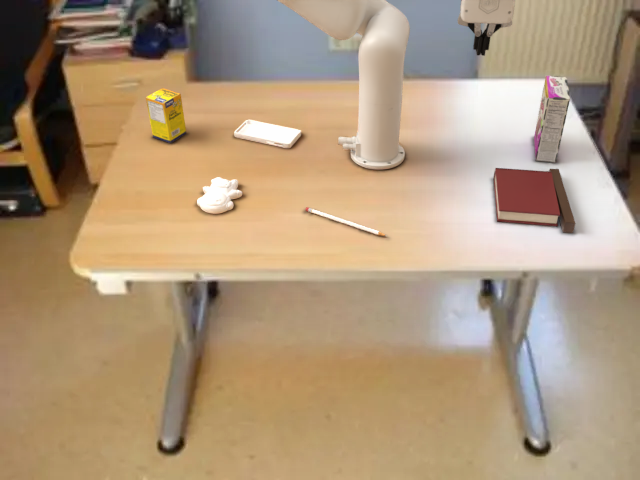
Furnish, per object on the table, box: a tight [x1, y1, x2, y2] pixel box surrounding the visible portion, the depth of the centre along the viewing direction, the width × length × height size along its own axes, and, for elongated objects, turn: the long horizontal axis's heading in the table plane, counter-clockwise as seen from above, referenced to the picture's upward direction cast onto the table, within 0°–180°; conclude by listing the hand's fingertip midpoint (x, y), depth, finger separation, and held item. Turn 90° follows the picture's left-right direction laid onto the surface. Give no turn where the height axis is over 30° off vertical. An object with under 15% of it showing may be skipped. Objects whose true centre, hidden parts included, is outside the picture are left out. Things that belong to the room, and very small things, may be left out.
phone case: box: [233, 119, 302, 149], centre depth 173 cm, size 7×1×15 cm
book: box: [493, 167, 560, 227], centre depth 149 cm, size 12×16×3 cm
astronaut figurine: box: [196, 176, 243, 215], centre depth 151 cm, size 9×12×3 cm
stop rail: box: [548, 168, 576, 234], centre depth 149 cm, size 2×20×2 cm, turn 174°
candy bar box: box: [533, 75, 571, 164], centre depth 162 cm, size 11×5×16 cm, turn 168°
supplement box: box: [145, 87, 187, 144], centre depth 170 cm, size 6×6×11 cm
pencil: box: [305, 206, 387, 237], centre depth 144 cm, size 1×19×1 cm, turn 60°
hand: (480, 52), depth 145 cm, fingers closed
